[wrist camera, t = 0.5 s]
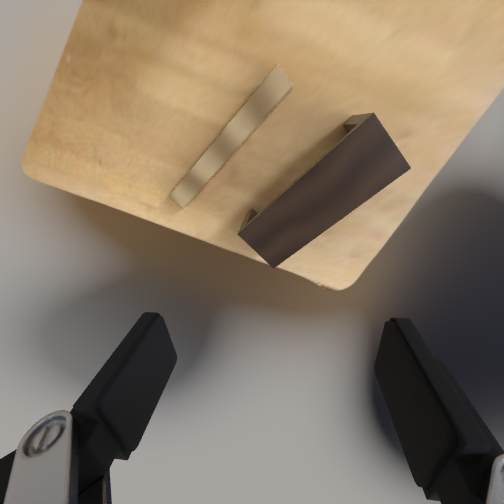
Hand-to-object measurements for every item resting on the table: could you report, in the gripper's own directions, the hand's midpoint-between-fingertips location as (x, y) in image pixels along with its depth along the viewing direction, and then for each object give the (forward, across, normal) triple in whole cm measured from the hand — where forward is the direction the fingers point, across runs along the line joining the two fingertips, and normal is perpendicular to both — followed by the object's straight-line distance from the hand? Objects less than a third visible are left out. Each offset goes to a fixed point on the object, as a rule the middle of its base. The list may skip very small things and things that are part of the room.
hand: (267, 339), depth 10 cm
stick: (+33, +8, -6) cm, 34 cm away
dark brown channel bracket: (+33, -5, +2) cm, 33 cm away
